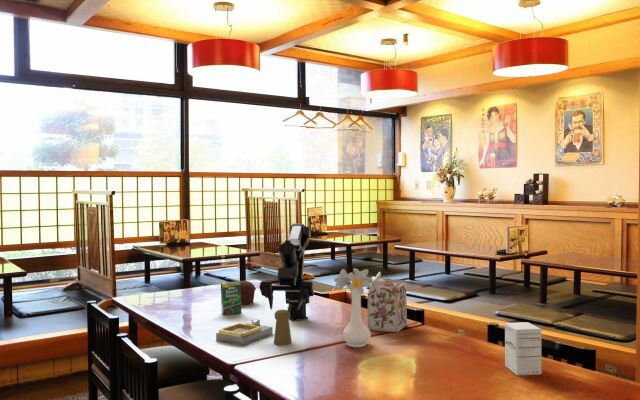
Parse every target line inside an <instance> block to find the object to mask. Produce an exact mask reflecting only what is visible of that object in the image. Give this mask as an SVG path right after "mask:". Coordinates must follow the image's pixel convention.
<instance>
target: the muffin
mask: <svg viewBox="0 0 640 400" xmlns="http://www.w3.org/2000/svg"><path fill="white" fill-rule="evenodd" d="M238 281H239V282H240V289H241V306H250V305H252V304H254V299H255V291H256V290H257V287H256V286H255V285H254V284H253V283H252V282H251V281H248V280H238Z"/></svg>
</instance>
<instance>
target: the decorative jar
mask: <svg viewBox="0 0 640 400" xmlns="http://www.w3.org/2000/svg"><path fill="white" fill-rule="evenodd" d="M380 280H384V281H385V284H384V285H382V286H379V288H380V294H378V293H377V292H376V290H375V289H374V291H373V292H372V291H371V288H369V289H368V292H367V327H368V329H369V330H370V331H377V332H386V333H387V332H388V333H399V332H400V331H402V329H403V328H405V327H406V326H407V324H408V319H407V318H408V317H407V316H408V315H407V312H408V311H407V309H408V308H407V305H408V304H407V289H406V287H405V285H403V284H402V283H398V282H394V281H395V280H394V278H391V277H384V278H381V279H380ZM370 285H371V286H372V284H370ZM377 286H378V285H377Z"/></svg>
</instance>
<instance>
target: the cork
mask: <svg viewBox="0 0 640 400" xmlns="http://www.w3.org/2000/svg"><path fill="white" fill-rule="evenodd" d="M289 318H290V312H289V311H288V309H278V310H275V312H274V319H275V327H274V328H275V330H274V337H273V338H274V339H273V345H276V346H289V345H291V344H292V337H291V336H292V334H291V328H290V322H289V320H290V319H289Z"/></svg>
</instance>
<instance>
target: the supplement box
mask: <svg viewBox="0 0 640 400" xmlns="http://www.w3.org/2000/svg"><path fill="white" fill-rule="evenodd" d="M504 366H505V367H506V368H507V369H509V370H510V371H511V372H513V373H514V375H516V376H531V375H533V376H534V375H542V328H540V327H538V326H537V325H534V324H532V323H530V322H528V321H527V322H524V321H523V322H521V321H520V322H519V321H518V322H505V323H504Z"/></svg>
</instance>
